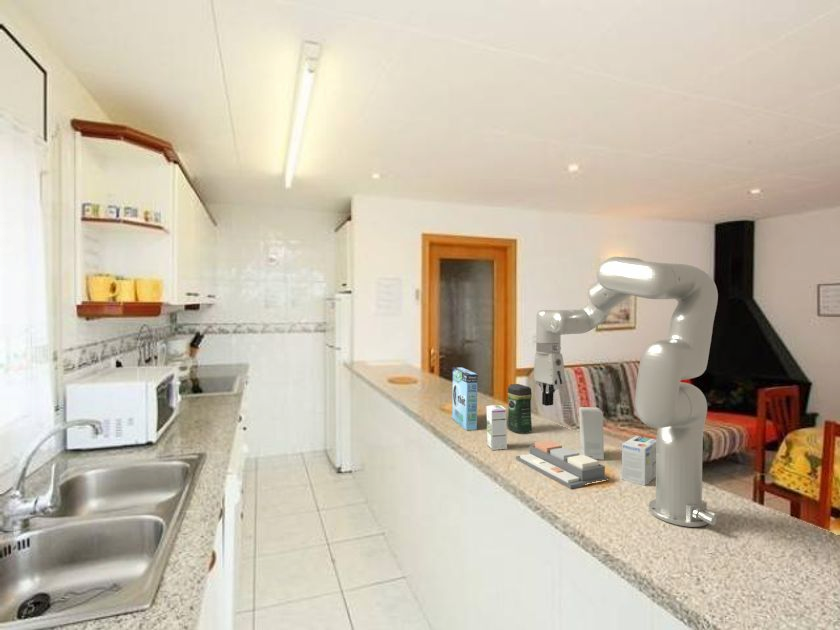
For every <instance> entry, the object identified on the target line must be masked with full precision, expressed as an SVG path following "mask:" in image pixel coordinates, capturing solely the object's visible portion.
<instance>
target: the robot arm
mask: <svg viewBox="0 0 840 630" xmlns="http://www.w3.org/2000/svg"><path fill="white" fill-rule="evenodd" d="M596 279H597V280H596V281H595V282H594V283H592V284H591V285H590V286H589V288H588V290H587V294H588V295H587V296H588V298H589V300H590V302H589V303H588V304H587V305H585V306H584V307H582V308H580V309H557V310H556V309H554V310H553V309H545V310H544V309H542V310H539V311H537V313H536V334H535V338H536V340H535V342H536V343H535V345H536V346H535V347H536V350H535V355H534V362H533V364H534V365H533V379H534V381H535V383H536V385H537V386H539V387H540V392H541V396H542V397H541V404H542V406H545V407H547V406H554V394H555V392H556V391H557V390H561V388H562V386H561V385H563V384H565V363H564V357H563V354H562V353H561V349H562V347H561V340H562V339H561V338H562V337H561V336H562V335H576V334H577V335H579V334H586V333H588V332H590V331H592V330H594V329H595V328H596V327H598V326H600V325H601V324H602V323H604V322H606V320H607V319H608V317H609V316H610V314H611V311H612V309H614V308H615V307H616V306H618V305H619V304H621V303H622V302H624V301H625V300H627V299H629V298H630V297H631V296H634V297H638V298H641V299H649V300H676V301H677V305H676V307H675V308H674V311H673V312H672V314H671V317H670V322H669V329H668V335H667V338H666V339H659V340H656V341H653V342H651V343H650V344H648V346H646V348H645V349H644V351H643V353H642V354H641V357H640V358H639V359H640V360H639V365H638V373H637V379H636V380H637V381H636V386H635V393H634V394H635V395H634V408H635V412H636V415H637V417H638V419H639V420H640V421H641V422H642V423H643V424H645V426H647V427H650V428H651V429H652V428H653V429H657V431H656V432H657V433H656V437H655V438H656V477H655V498H654V499H652V500H651V501H649V503H648V511H649V512H650V513H651V514H652V515H653V516H655V517H656V518H658V519H659V520H661V521H664V522H665V523H666V522H667V523H669V524H673V525H676V526H681V527H686V528H687V527H690V528H699V527H704V526H706V525H711V526H715V525H716V523H717V520H718V516H719V515H718V513H716V512H714V511H712V510H709V509H708V507H707V506H708V505H707V501H705V500H703V443H704V441H703V439H704V430H705V424H706V419H707V414H708V403H707V399H706V396H705V395H704V393H703V392H702V390H701V389H700V388H699V387H697V386H695V385H694V384H691V383H688V382H681V381H683V380H684V381H685V380H691V379H696V378H697V377H700V376H702V375H703V374H704V373H705V371H706V370H707V366H708V363H709V361H708V360H709V357H710V356H709V355H710V350H711V349H710V348H711V343H712V335H713V327H714V323H715V322H714V321H715V316H716V312H717V308H718V307H717V306H718V302H719V301H718V299H719V298H718V297H719V293H718V288H717V285H716V283H715V281H714V279H713V278H712V276H710V275H709V274H708V273H707V272H706V271H704V270H703V269H700V268H698V267H696V266H693V265H690V264H683V263H673V262H672V263H669V262H656V261H655V262H652V261H646V260H643V259H640V258H638V257H637V258H636V257H628V256H627V257H626V256H612V257H609V258H607V259H604V261H603V262H601V264H600V265H599V267H598V268H597V271H596Z"/></svg>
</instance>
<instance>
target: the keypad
mask: <svg viewBox="0 0 840 630" xmlns="http://www.w3.org/2000/svg"><path fill="white" fill-rule="evenodd" d="M515 460H516V461H518V462H520V463H522V464H524V465H526V466H527V467H529V468H530V469H532V470H535V471H537V472H539V473H540V474H542V475H543V476H546V477H548V478H550V479H552V480H553V481H555V482H557V483H559V484H561V485H562V486H564V487H567V489H570V490H572V489H577V488H581V487H585V486H584V485H585V484H587V483H592V482H596V481H602V480H607V479H609V480H610V477H609V476H607V475H606V466H605V465H603V464H600V463H599V465H598V466H597V467H592V468H587V469H580V468H578V467H576V466H574V465H572V464H570V463H568V460H565V461H563V460H561V459H559V458H557V457H555V456H552V455H550V452H549V453H546V452H544V451H542V450H539V449H537V448H535V444H534V445H530V446H529V453H527V454H520V455H518V456H517V455H516V456H515Z"/></svg>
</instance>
